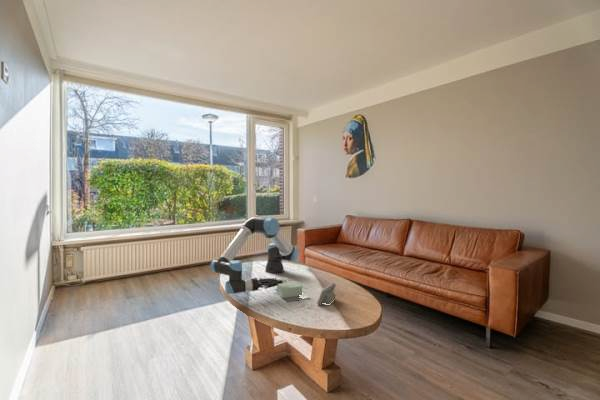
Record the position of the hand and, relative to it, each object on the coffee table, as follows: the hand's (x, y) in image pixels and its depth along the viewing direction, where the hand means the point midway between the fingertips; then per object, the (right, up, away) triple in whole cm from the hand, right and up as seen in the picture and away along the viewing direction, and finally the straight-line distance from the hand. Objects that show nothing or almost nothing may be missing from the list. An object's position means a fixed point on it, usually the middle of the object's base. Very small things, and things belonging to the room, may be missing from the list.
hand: (286, 280), depth 186 cm
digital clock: (+25, -11, -9) cm, 29 cm away
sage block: (-4, -6, -2) cm, 8 cm away
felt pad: (+4, -9, +2) cm, 10 cm away
